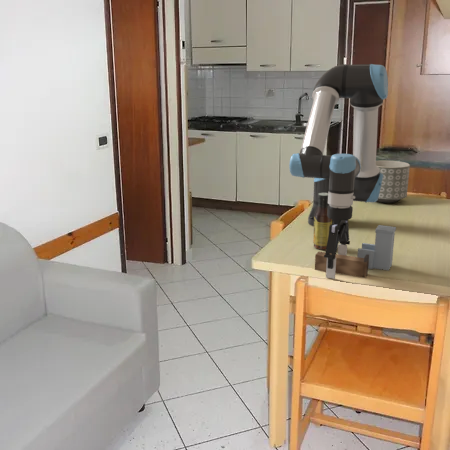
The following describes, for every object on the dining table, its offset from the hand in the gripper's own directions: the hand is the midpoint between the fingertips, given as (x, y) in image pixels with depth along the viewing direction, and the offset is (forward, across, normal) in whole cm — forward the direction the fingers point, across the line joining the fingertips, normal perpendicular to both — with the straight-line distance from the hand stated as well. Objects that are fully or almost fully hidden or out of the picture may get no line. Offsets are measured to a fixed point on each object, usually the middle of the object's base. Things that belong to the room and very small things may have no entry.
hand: (336, 270), depth 168 cm
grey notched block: (0, +10, -10) cm, 14 cm away
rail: (0, 0, -2) cm, 2 cm away
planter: (0, +101, +2) cm, 101 cm away
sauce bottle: (0, +20, +10) cm, 23 cm away
